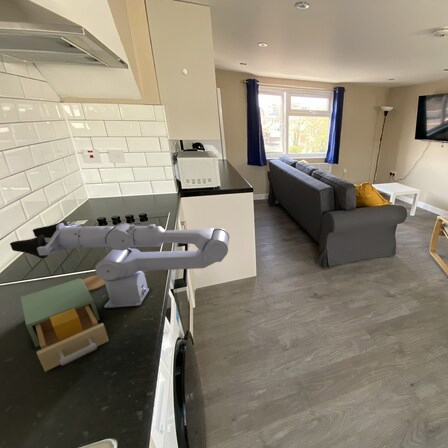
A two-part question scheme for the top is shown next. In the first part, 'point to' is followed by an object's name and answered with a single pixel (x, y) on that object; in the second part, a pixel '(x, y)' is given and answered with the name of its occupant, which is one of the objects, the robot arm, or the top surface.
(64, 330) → the orange block
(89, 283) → the coaster
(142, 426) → the top surface
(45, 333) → the drawer
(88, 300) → the cabinet
